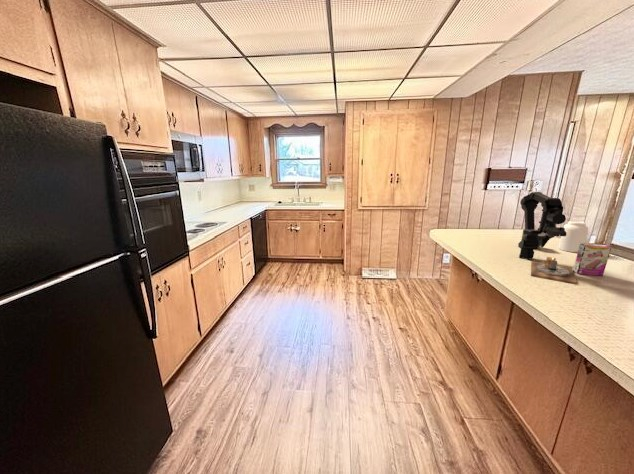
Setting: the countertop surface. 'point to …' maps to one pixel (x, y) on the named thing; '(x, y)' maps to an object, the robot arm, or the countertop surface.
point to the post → (553, 265)
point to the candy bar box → (591, 259)
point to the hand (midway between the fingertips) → (541, 247)
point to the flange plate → (557, 272)
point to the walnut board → (568, 278)
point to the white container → (573, 236)
